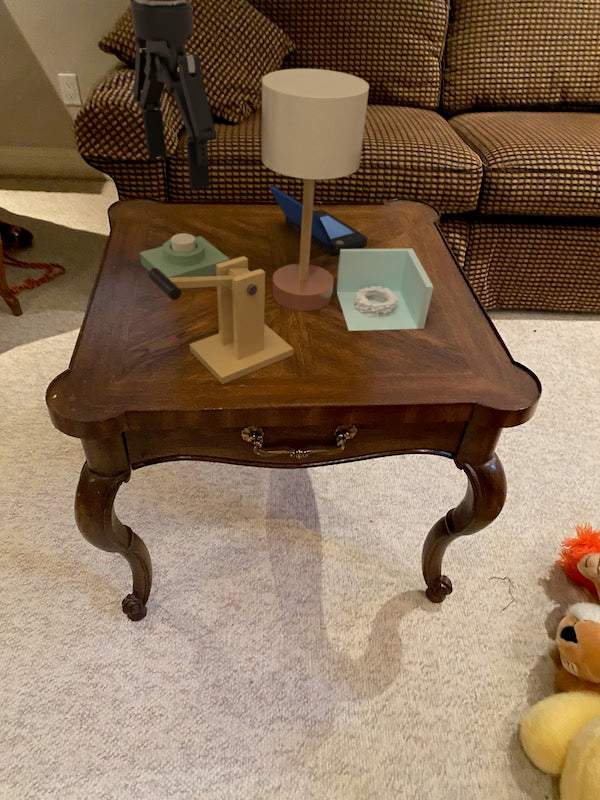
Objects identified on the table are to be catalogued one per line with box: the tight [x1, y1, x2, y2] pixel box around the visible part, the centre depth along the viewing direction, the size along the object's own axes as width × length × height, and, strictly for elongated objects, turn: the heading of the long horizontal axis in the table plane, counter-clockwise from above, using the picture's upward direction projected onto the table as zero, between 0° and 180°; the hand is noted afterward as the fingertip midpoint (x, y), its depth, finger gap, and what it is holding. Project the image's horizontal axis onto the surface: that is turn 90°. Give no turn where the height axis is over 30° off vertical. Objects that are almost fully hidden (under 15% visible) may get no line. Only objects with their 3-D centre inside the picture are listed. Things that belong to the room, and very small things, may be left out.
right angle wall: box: [335, 247, 434, 332], centre depth 93 cm, size 12×12×8 cm
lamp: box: [260, 68, 370, 312], centre depth 87 cm, size 14×14×32 cm
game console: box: [269, 184, 369, 256], centre depth 110 cm, size 16×13×9 cm
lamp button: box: [170, 232, 196, 253], centre depth 99 cm, size 4×4×2 cm
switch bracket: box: [188, 255, 295, 385], centre depth 80 cm, size 12×9×14 cm
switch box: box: [139, 235, 231, 278], centre depth 101 cm, size 12×10×4 cm
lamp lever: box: [148, 268, 252, 301], centre depth 74 cm, size 13×6×2 cm, turn 127°
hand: (177, 171), depth 87 cm, fingers open, 13 cm apart
